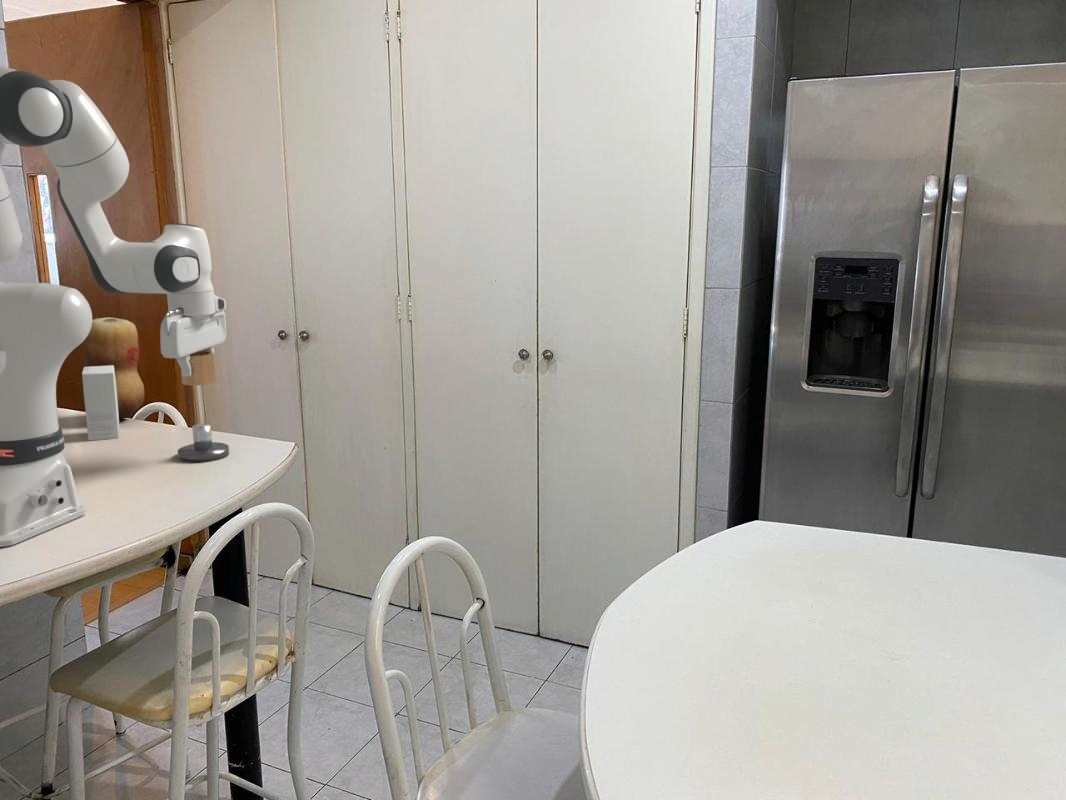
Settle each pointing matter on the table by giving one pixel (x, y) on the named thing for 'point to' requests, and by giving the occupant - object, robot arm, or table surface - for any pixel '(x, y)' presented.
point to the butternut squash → (117, 359)
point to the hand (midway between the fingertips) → (197, 372)
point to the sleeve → (201, 369)
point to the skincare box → (101, 402)
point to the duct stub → (203, 446)
